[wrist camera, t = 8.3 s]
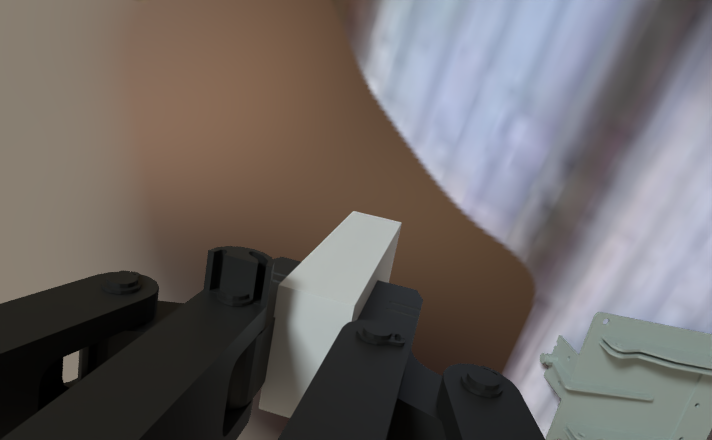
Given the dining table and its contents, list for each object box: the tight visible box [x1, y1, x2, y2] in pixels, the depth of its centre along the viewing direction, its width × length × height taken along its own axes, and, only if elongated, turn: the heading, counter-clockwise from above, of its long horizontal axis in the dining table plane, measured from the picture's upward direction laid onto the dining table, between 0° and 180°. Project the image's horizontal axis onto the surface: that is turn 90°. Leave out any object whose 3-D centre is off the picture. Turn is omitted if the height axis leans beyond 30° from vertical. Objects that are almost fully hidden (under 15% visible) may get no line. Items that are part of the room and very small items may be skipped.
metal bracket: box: [540, 312, 712, 440], centre depth 41 cm, size 14×6×15 cm
